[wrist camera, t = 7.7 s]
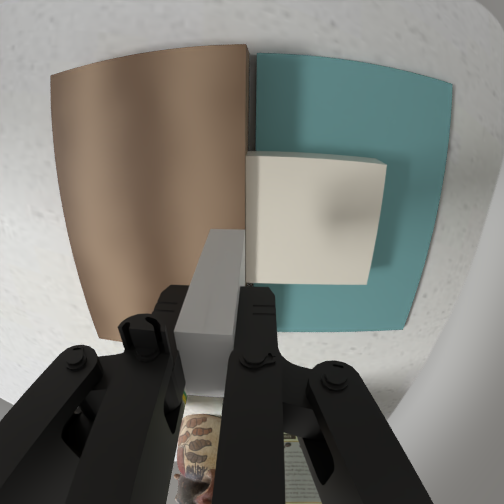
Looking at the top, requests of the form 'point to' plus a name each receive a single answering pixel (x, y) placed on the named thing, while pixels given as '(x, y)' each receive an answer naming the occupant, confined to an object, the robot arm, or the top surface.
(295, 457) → the coffee can
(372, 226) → the tile
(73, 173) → the board
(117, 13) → the top surface
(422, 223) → the mat
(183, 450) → the figurine
